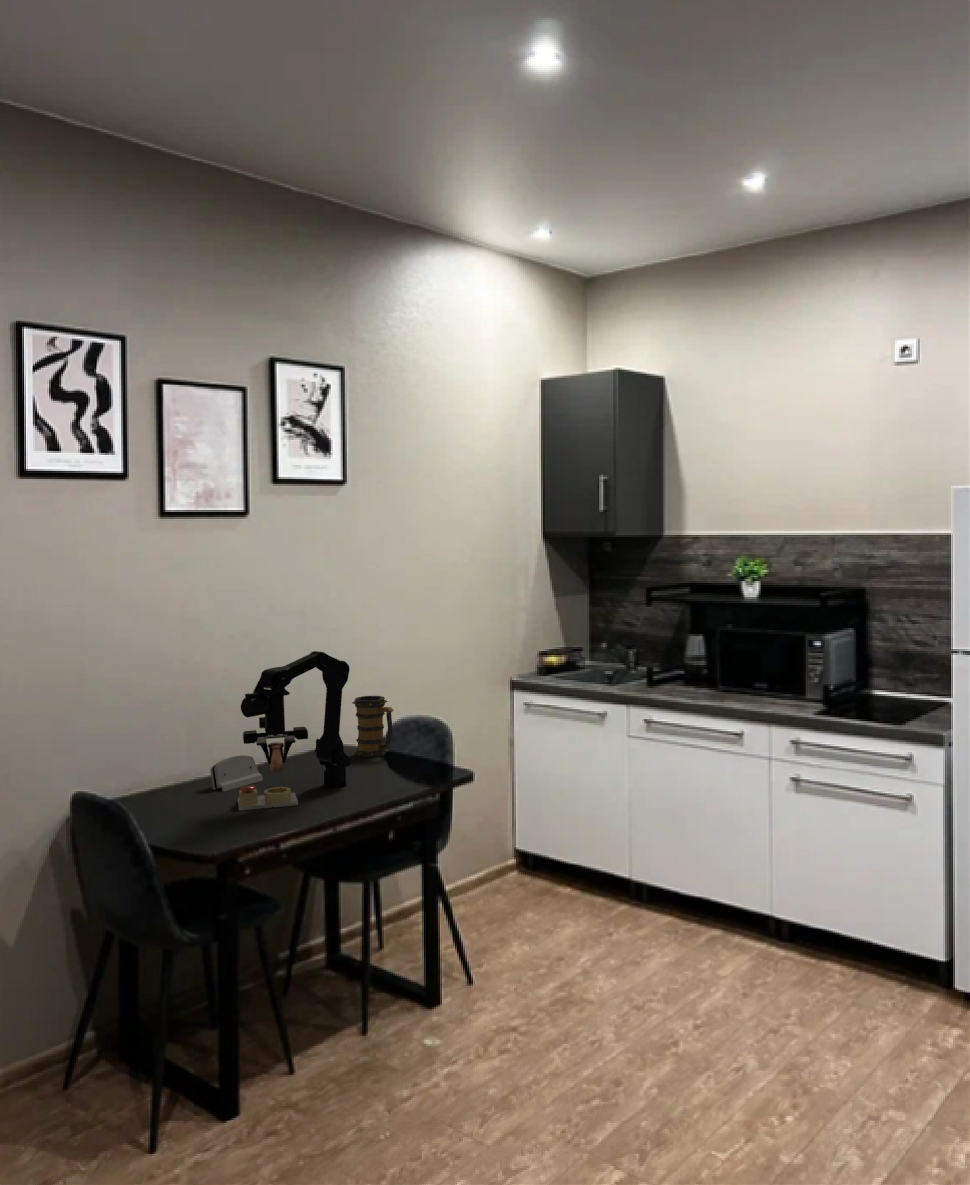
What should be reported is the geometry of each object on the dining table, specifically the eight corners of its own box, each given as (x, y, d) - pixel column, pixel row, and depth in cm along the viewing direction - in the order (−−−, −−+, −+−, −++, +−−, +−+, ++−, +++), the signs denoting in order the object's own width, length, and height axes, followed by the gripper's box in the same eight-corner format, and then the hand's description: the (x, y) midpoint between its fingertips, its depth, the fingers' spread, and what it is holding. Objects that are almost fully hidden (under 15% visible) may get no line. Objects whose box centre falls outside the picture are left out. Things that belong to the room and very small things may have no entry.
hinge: (222, 791, 321) (214, 760, 323) (213, 794, 324) (205, 763, 326) (264, 779, 335) (256, 750, 336) (255, 782, 338) (247, 753, 339)
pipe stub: (284, 767, 310) (283, 741, 310) (285, 771, 306) (284, 744, 305) (268, 769, 309) (267, 742, 309) (269, 772, 305) (268, 745, 304)
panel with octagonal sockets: (294, 795, 315) (294, 778, 315) (298, 805, 304) (297, 787, 304) (237, 800, 310) (237, 783, 310) (239, 810, 300) (238, 792, 300)
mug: (370, 747, 378) (368, 693, 376) (406, 753, 367) (404, 698, 366) (345, 755, 367) (343, 699, 366) (381, 761, 357) (380, 703, 356)
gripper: (303, 704, 316) (305, 755, 318) (241, 709, 312) (243, 760, 313) (307, 711, 306) (309, 763, 307) (242, 716, 301) (244, 768, 302)
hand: (276, 763), depth 307 cm, fingers closed on pipe stub, 4 cm apart
